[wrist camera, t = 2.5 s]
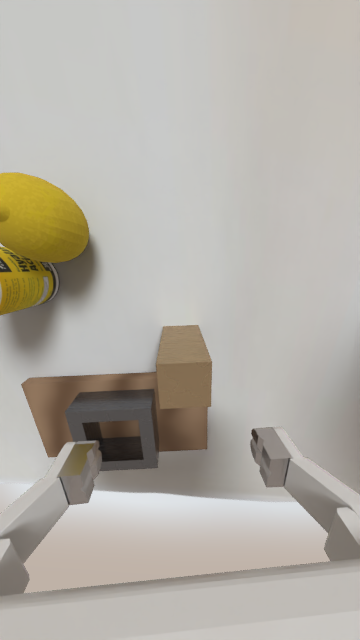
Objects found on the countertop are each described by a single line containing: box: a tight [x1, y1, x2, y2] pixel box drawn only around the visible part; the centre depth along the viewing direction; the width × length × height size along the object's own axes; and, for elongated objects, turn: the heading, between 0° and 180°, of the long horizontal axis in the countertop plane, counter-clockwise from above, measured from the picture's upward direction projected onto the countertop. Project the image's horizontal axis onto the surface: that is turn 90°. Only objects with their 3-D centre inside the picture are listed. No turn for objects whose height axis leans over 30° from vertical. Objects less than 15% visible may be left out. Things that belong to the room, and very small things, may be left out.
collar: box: [65, 389, 160, 471], centre depth 21 cm, size 9×9×3 cm
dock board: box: [21, 372, 208, 457], centre depth 23 cm, size 22×12×1 cm, turn 92°
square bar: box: [156, 325, 212, 409], centre depth 17 cm, size 4×4×8 cm
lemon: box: [0, 173, 89, 263], centre depth 13 cm, size 6×6×8 cm
